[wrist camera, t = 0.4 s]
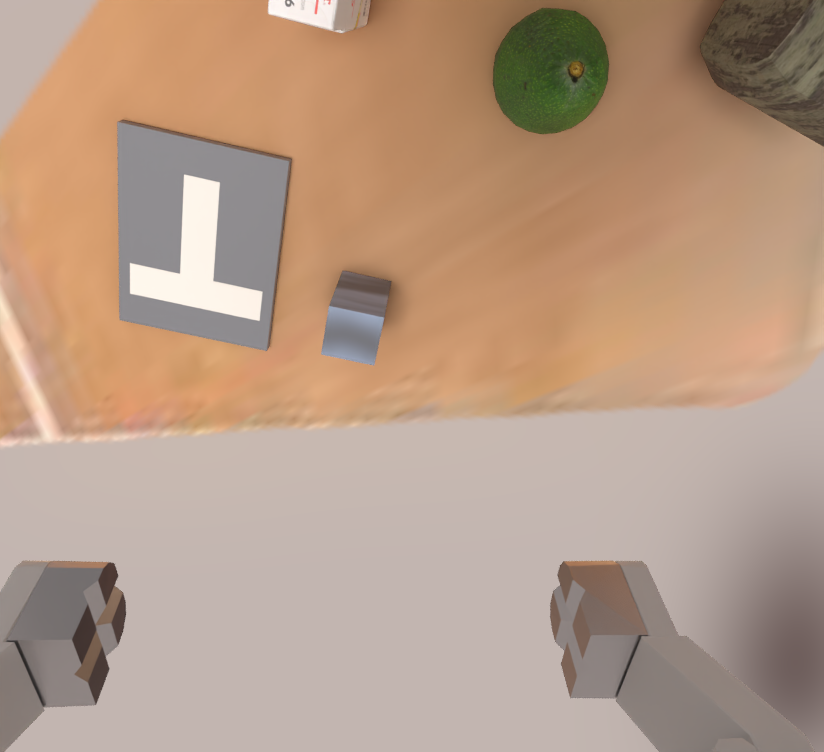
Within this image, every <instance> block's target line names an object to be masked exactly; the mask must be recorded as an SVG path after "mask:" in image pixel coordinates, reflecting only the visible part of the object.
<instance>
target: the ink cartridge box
mask: <svg viewBox="0 0 824 752" xmlns="http://www.w3.org/2000/svg"><path fill="white" fill-rule="evenodd" d="M370 2H371V0H269V3H268V13H269V14H270V15H273V16H276V17H280V18H284V19H288V20H291V21H295V22H299V23H303V24H306V25H310V26H314V27H318V28H322V29H326V30H330V31H334V32H338V33H345V32H348V31H351V30H354V29H357V28H361V27H364V26H366V25H367V21H368V15H369V9H370Z"/></svg>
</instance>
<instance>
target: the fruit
mask: <svg viewBox="0 0 824 752" xmlns="http://www.w3.org/2000/svg"><path fill="white" fill-rule="evenodd" d="M608 67H609V61H608V55H607V50H606V45H605V43H604V41H603V39H602V37H601V35H600V33H599V31H598V29H597V28H596V27H595V26H594V25H593V24H592V23H591V22H590V21H589V20H588V19H587V18H586V17H584V16H582V15H581V14H579V13H578V12H576V11H570V10H563V9H548V8H541V9H539V10H538V11H536V12H534V13H532V14H530V15H528V16H526V17H525V18H524V19H522V20H521V21H520V22H518V23H517V24H516V25H515V26H513V27H512V28H511V30H510V31H509V32H508V34H507V35H506V37H505V38H504V39H503V41H502V43H501V45H500V47H499V49H498V51H497V53H496V55H495V62H494V69H493V86H494V91H495V96H496V100H497V102H498V104H499V106H500V108H501V110H502V112H503V113H504V114H505V115H506V116H507V117H508V118H509V119H510V120H511V121H512V122H513V123H514V124H515V125H516V126H518V127H520V128H523V129H525V130H527V131H529V132H534V133H539V134H549V133H558V132H561V131H564V130H566V129H569V128H572V127H574V126H575V125H577V124H578V123H580V122H581V121H583V120H584V119H586V117H587V116H588V115H589V114H590V113H591V112H592V110H593V109H594V108H595V107H596V105H597V104H598V102H599V100H600V98H601V97H602V95H603V93H604V90H605V87H606V84H607V81H608Z"/></svg>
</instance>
